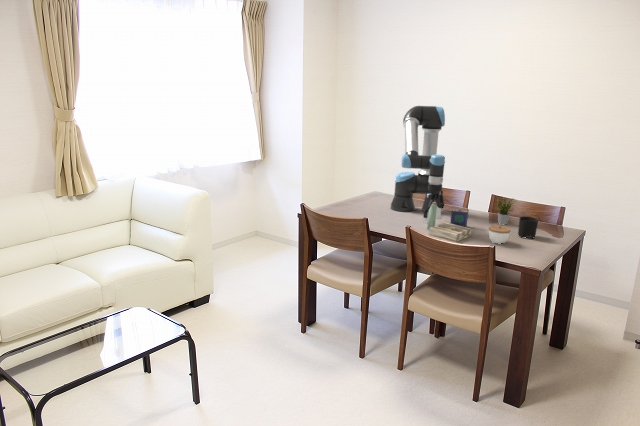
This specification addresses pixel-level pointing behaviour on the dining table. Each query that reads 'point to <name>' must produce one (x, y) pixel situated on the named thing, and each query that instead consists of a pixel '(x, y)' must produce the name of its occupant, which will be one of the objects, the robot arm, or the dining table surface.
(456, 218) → the blue green box
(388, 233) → the dining table surface
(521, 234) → the pen holder
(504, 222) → the house plant
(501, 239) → the lidded jar
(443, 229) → the socket board
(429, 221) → the dowel
